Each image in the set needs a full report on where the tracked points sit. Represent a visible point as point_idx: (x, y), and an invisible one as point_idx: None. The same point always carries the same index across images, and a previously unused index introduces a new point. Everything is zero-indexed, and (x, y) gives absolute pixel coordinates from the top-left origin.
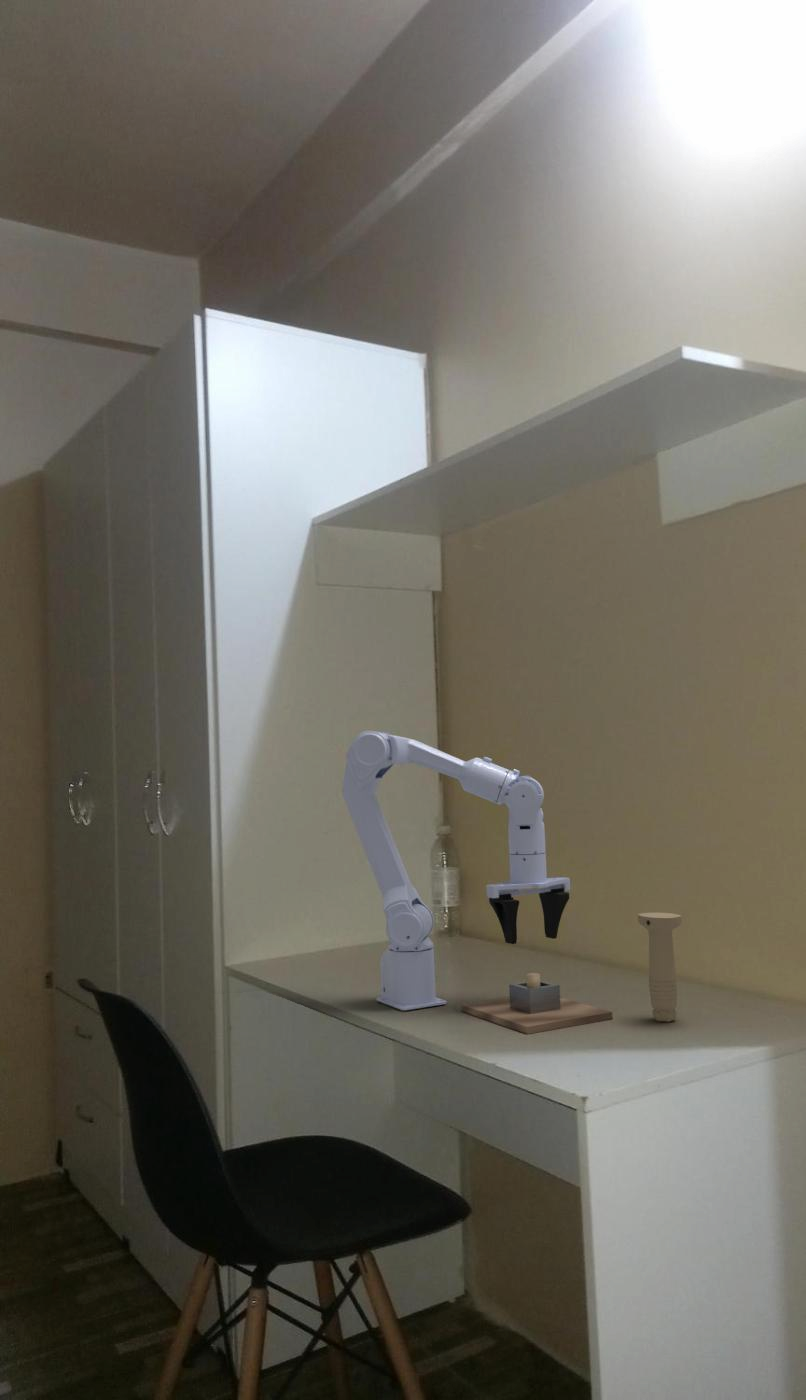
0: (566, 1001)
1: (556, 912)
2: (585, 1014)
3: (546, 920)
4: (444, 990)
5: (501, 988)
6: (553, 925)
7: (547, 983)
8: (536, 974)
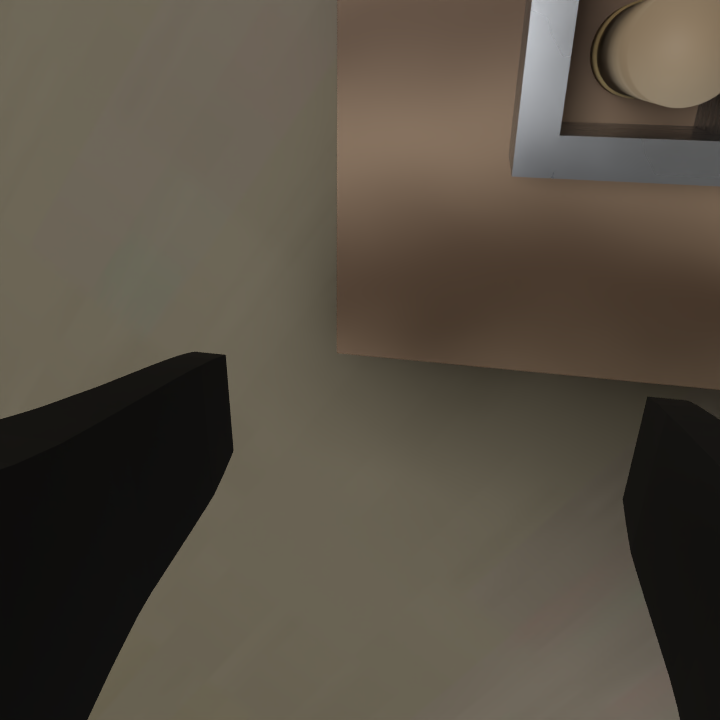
0: (374, 79)
1: (59, 439)
2: None
3: (160, 536)
4: (554, 691)
5: (360, 578)
6: (165, 409)
7: (566, 7)
8: (671, 24)
